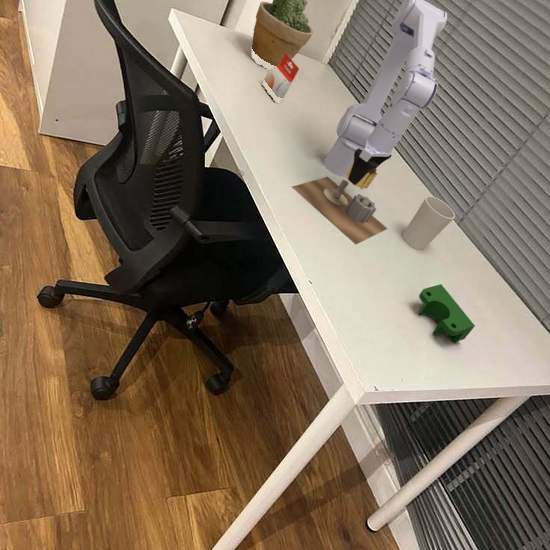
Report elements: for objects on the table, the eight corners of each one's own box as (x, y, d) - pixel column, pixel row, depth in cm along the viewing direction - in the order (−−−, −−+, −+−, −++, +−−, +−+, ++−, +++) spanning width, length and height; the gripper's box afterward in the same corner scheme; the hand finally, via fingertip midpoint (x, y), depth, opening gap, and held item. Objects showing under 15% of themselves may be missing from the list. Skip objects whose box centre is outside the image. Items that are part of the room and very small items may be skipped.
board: (325, 180, 138) (336, 161, 134) (384, 232, 132) (398, 214, 129) (289, 190, 126) (300, 170, 122) (353, 248, 120) (367, 228, 117)
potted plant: (244, 41, 186) (276, -34, 171) (293, 67, 189) (328, -4, 175) (236, 58, 171) (270, -23, 157) (289, 85, 175) (328, 9, 160)
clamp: (407, 324, 117) (413, 286, 113) (428, 318, 119) (435, 280, 115) (448, 353, 107) (456, 313, 103) (470, 345, 110) (479, 306, 106)
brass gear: (355, 172, 127) (364, 158, 125) (371, 188, 125) (381, 174, 123) (341, 173, 123) (350, 159, 121) (358, 190, 121) (367, 175, 119)
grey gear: (353, 205, 132) (362, 192, 130) (370, 220, 130) (380, 207, 128) (342, 210, 128) (350, 196, 125) (359, 225, 126) (369, 212, 124)
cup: (425, 245, 137) (455, 209, 130) (423, 261, 130) (454, 223, 123) (398, 229, 137) (426, 191, 130) (394, 243, 130) (424, 205, 123)
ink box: (274, 102, 159) (291, 66, 152) (260, 85, 164) (277, 49, 157) (281, 104, 161) (299, 69, 154) (268, 87, 166) (285, 52, 159)
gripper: (387, 112, 122) (355, 161, 130) (363, 122, 111) (330, 175, 119) (412, 130, 121) (379, 179, 129) (391, 142, 110) (355, 195, 118)
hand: (357, 178), depth 124 cm, fingers closed on brass gear, 6 cm apart
